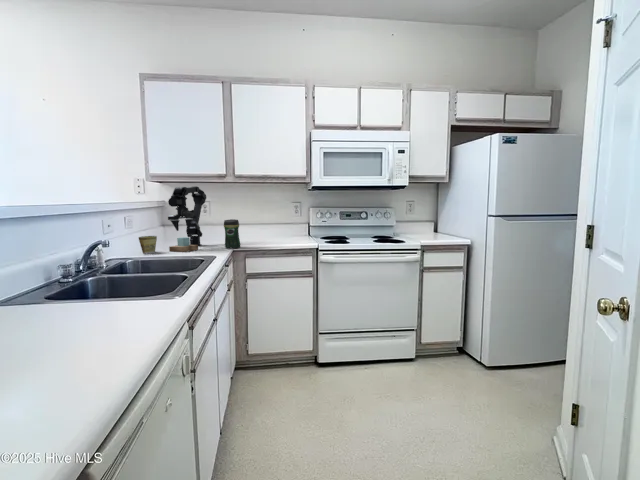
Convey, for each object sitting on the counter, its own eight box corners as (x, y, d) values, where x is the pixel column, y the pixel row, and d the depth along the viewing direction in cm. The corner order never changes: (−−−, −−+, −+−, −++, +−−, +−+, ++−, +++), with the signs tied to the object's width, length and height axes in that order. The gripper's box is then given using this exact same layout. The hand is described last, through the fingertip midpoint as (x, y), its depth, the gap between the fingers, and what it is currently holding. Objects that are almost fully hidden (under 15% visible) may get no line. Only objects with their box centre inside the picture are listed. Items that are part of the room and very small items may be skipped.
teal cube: (184, 245, 225) (183, 237, 224) (189, 245, 222) (189, 237, 222) (177, 246, 220) (177, 238, 220) (183, 246, 218) (183, 238, 217)
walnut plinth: (184, 248, 230) (184, 244, 229) (198, 249, 224) (198, 244, 224) (169, 251, 219) (169, 246, 218) (183, 252, 214) (183, 247, 213)
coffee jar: (241, 246, 233) (240, 218, 231) (238, 248, 225) (237, 219, 223) (227, 247, 233) (225, 219, 231) (223, 248, 225) (222, 219, 223)
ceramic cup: (155, 253, 211) (154, 236, 210) (137, 254, 209) (136, 237, 208) (161, 250, 223) (159, 235, 222) (144, 251, 222) (142, 235, 221)
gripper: (179, 206, 217) (181, 231, 219) (201, 205, 234) (202, 229, 236) (166, 206, 222) (168, 231, 224) (188, 206, 239) (190, 229, 241)
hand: (183, 230), depth 231 cm, fingers open, 9 cm apart
